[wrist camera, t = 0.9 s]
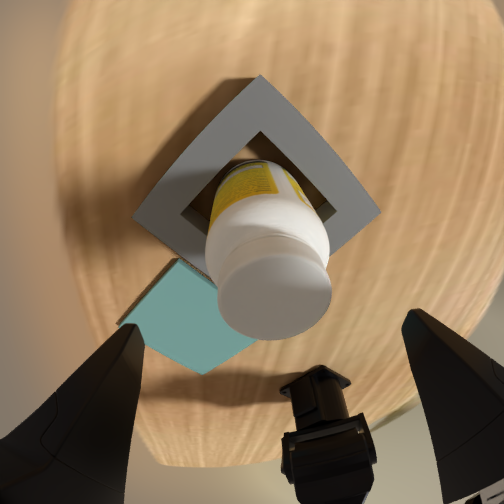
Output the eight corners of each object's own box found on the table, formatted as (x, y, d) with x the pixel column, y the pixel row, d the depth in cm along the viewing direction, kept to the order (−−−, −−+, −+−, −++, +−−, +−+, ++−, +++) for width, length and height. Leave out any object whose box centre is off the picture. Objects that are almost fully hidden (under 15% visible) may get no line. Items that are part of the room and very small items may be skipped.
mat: (273, 324, 23) (274, 328, 23) (202, 371, 27) (202, 375, 26) (179, 258, 20) (177, 262, 19) (119, 324, 23) (118, 327, 23)
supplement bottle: (204, 222, 18) (179, 334, 10) (232, 145, 16) (225, 204, 7) (278, 246, 19) (305, 361, 11) (312, 177, 17) (381, 261, 9)
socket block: (369, 200, 18) (381, 212, 16) (257, 294, 22) (259, 311, 20) (257, 77, 14) (260, 74, 12) (141, 205, 17) (131, 217, 16)
